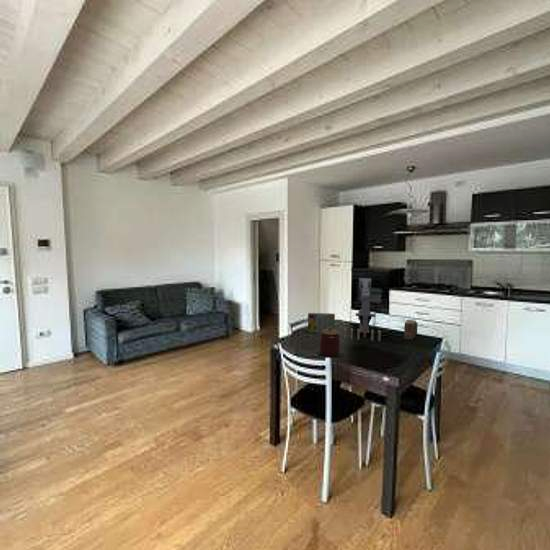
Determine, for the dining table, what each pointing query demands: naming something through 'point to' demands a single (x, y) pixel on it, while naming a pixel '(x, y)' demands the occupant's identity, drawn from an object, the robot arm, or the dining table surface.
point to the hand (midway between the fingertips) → (365, 325)
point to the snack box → (320, 321)
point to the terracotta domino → (364, 331)
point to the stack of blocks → (410, 329)
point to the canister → (330, 342)
